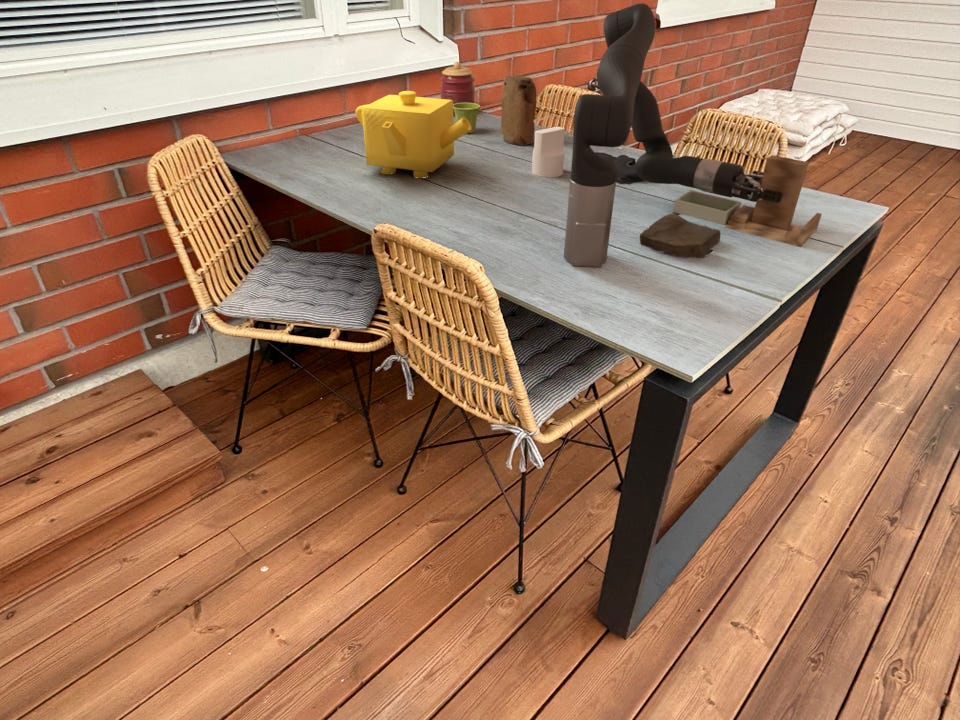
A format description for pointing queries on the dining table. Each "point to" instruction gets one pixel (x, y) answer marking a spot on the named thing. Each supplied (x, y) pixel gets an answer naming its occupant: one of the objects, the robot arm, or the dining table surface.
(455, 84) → the canister
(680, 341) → the dining table surface
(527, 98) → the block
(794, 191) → the board
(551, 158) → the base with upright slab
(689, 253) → the brown irregular slab
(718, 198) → the tray
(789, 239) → the rack
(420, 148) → the cube teapot
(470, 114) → the plant pot
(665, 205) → the dining table surface
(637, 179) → the dark slate chunk
